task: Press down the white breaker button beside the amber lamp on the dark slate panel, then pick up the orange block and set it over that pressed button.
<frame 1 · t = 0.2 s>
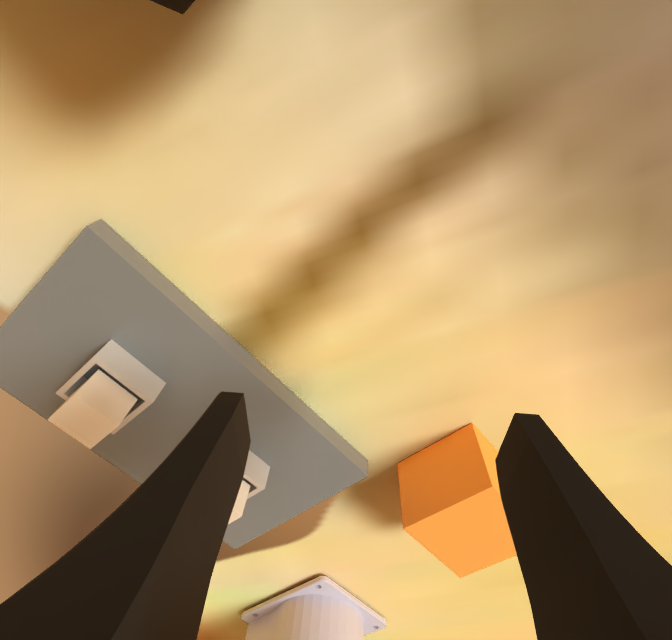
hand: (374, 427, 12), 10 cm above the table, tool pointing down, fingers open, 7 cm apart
button b: (94, 409, 21), point 4 cm above the table, slide at 0.0 cm
button a: (215, 497, 23), point 4 cm above the table, slide at 0.0 cm
breaker panel: (185, 409, 25), on the table
orange block: (458, 469, 26), on the table
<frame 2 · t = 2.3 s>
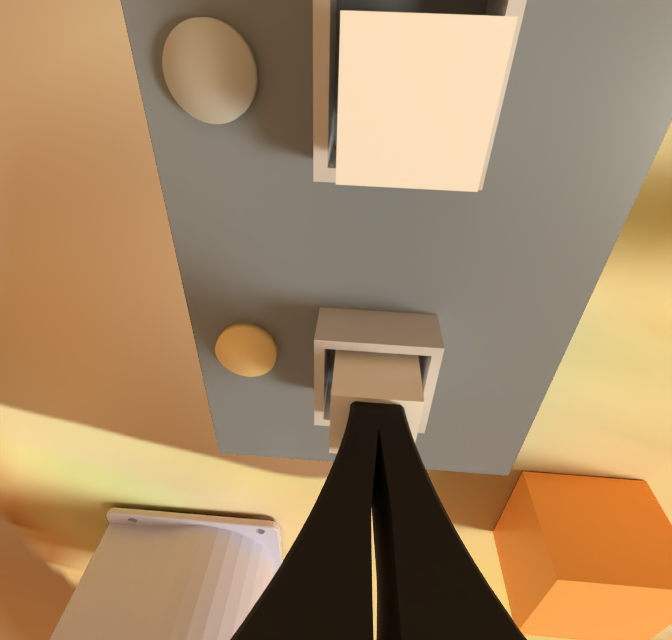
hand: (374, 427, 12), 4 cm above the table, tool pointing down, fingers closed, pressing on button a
button b: (411, 99, 7), point 4 cm above the table, slide at 0.0 cm
button a: (373, 401, 12), point 3 cm above the table, slide at -0.4 cm, touching gripper
breaker panel: (384, 227, 13), on the table
orange block: (563, 508, 21), on the table
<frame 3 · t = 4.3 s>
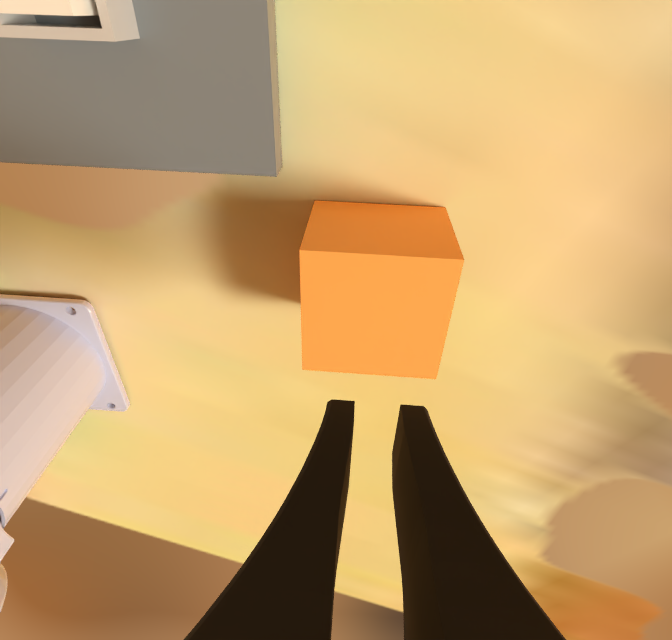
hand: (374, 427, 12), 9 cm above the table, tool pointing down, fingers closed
orange block: (374, 261, 19), on the table
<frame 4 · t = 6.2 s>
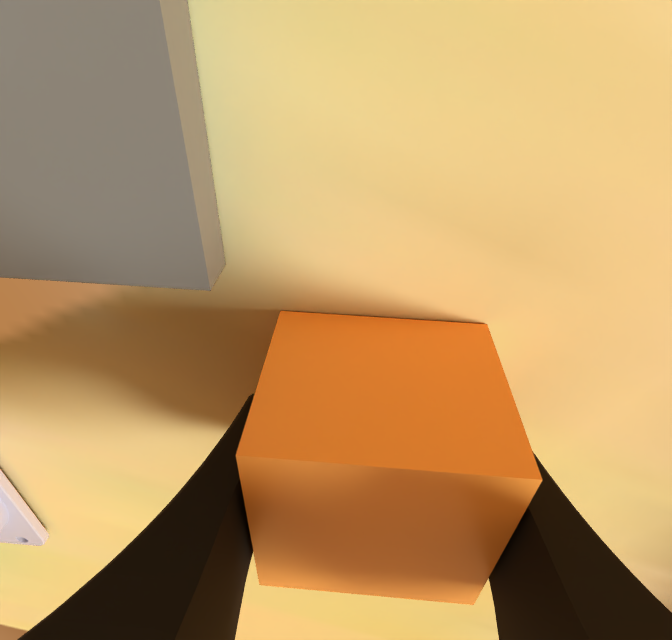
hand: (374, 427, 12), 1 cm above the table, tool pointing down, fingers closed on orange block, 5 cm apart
orange block: (374, 390, 13), on the table, touching gripper
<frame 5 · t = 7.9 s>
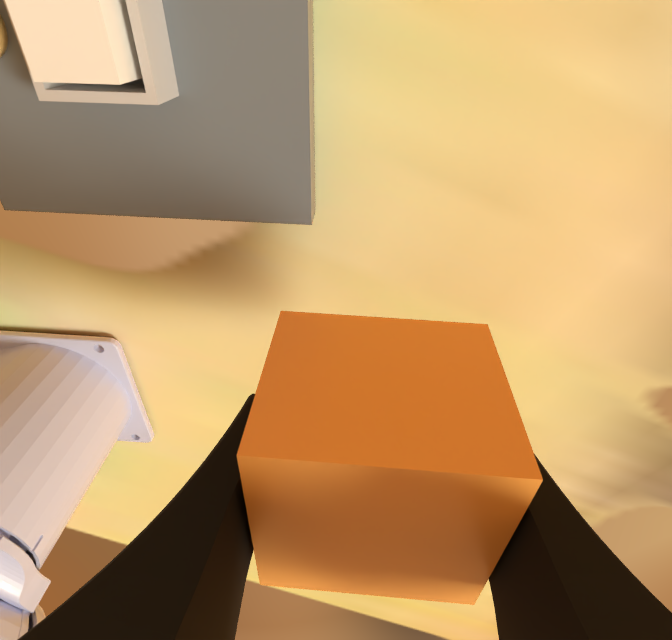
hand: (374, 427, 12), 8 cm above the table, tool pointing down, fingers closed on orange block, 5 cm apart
button a: (82, 27, 11), point 3 cm above the table, slide at -1.1 cm
orange block: (374, 390, 13), point 7 cm above the table, touching gripper
when the fingers open (4 cm above the table, at t = 10.0 s): orange block drops 1 cm, resting on breaker panel.
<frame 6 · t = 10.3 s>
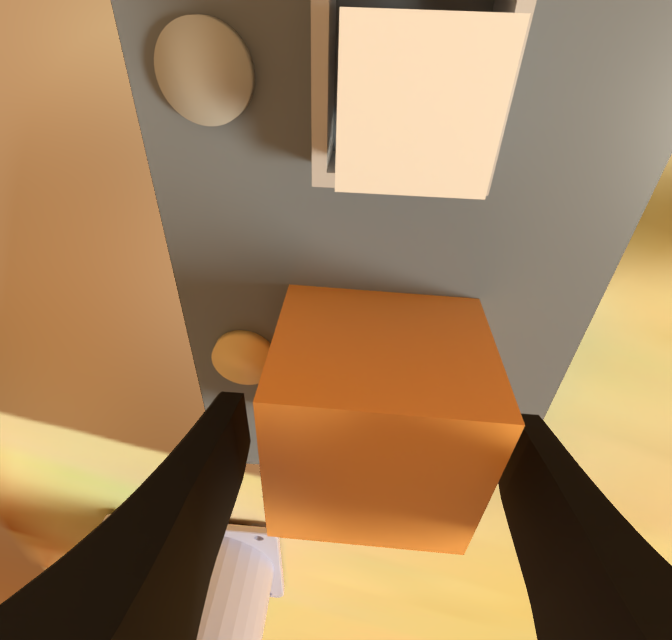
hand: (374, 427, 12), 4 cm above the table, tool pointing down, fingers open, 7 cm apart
button b: (414, 101, 7), point 4 cm above the table, slide at 0.0 cm
breaker panel: (385, 232, 12), on the table
orange block: (374, 362, 14), point 1 cm above the table, touching breaker panel
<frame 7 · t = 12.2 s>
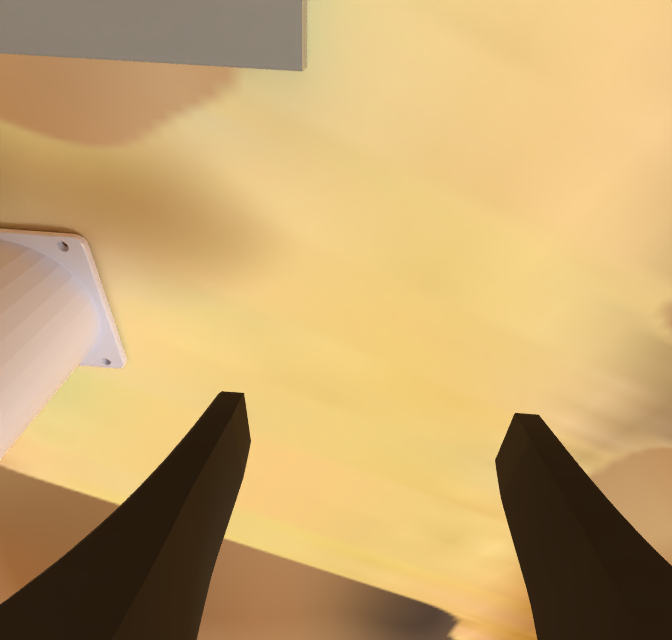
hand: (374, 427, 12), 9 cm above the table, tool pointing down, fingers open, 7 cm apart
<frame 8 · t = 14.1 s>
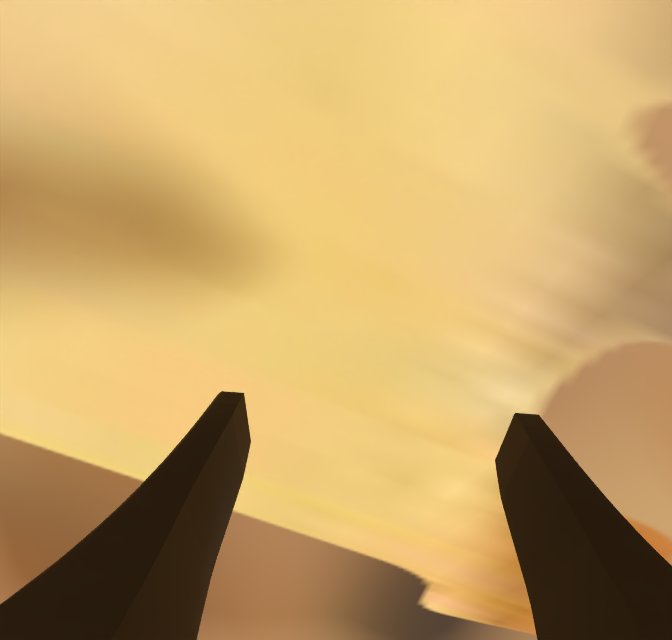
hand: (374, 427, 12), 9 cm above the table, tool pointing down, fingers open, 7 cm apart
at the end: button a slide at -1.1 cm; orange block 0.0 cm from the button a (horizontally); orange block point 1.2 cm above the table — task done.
